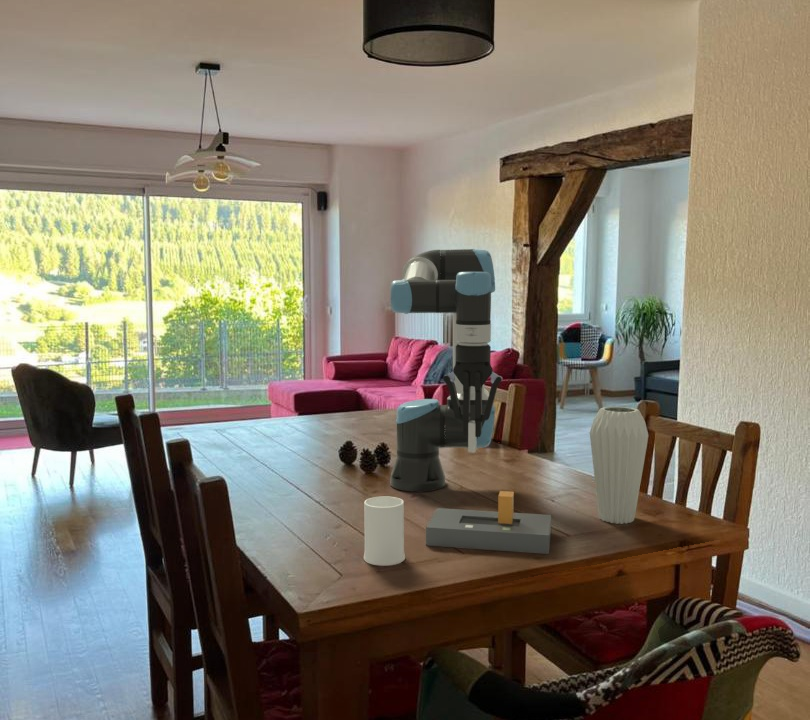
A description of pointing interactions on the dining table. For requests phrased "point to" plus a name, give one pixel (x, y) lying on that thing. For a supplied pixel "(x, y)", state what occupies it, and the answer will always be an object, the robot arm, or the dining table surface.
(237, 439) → the dining table surface
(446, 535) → the panel
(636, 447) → the vase
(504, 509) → the toggle
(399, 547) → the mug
